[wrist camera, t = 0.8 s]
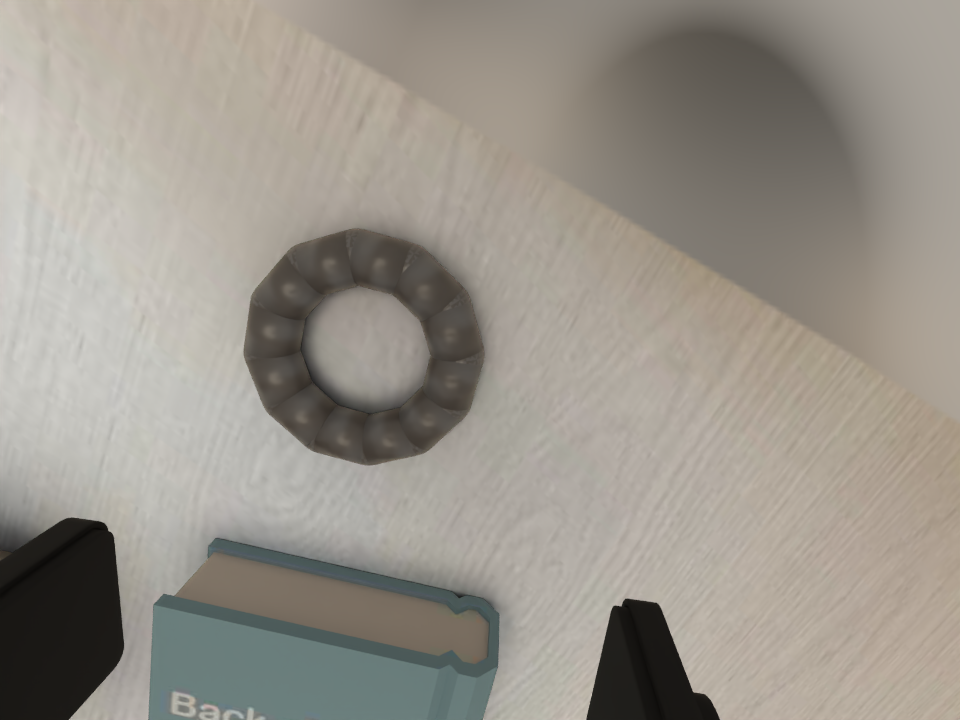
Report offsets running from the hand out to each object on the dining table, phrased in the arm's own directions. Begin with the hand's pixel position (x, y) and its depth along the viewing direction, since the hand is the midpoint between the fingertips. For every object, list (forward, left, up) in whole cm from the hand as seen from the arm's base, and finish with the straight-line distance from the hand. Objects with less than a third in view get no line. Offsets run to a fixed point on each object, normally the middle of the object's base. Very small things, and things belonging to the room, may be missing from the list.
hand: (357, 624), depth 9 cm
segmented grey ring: (0, -4, -14) cm, 15 cm away
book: (+24, -2, -16) cm, 29 cm away
